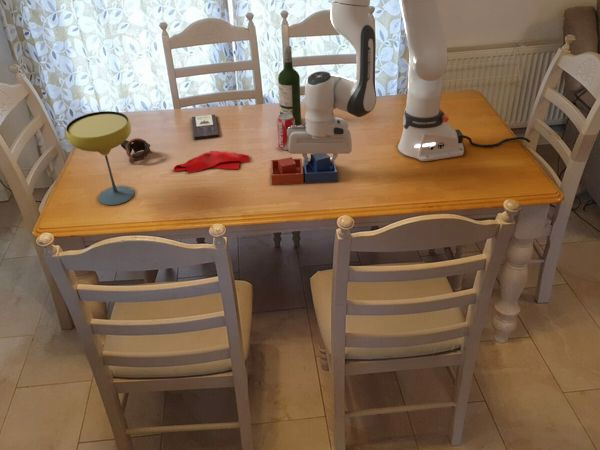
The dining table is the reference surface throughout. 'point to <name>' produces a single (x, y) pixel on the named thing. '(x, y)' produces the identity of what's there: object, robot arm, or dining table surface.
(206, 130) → the chocolate bar
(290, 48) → the wine bottle
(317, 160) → the blue block
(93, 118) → the cocktail glass
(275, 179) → the terracotta bin
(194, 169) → the cloth
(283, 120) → the beverage can
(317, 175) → the blue bin
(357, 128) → the dining table surface
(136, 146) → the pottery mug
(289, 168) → the red block
